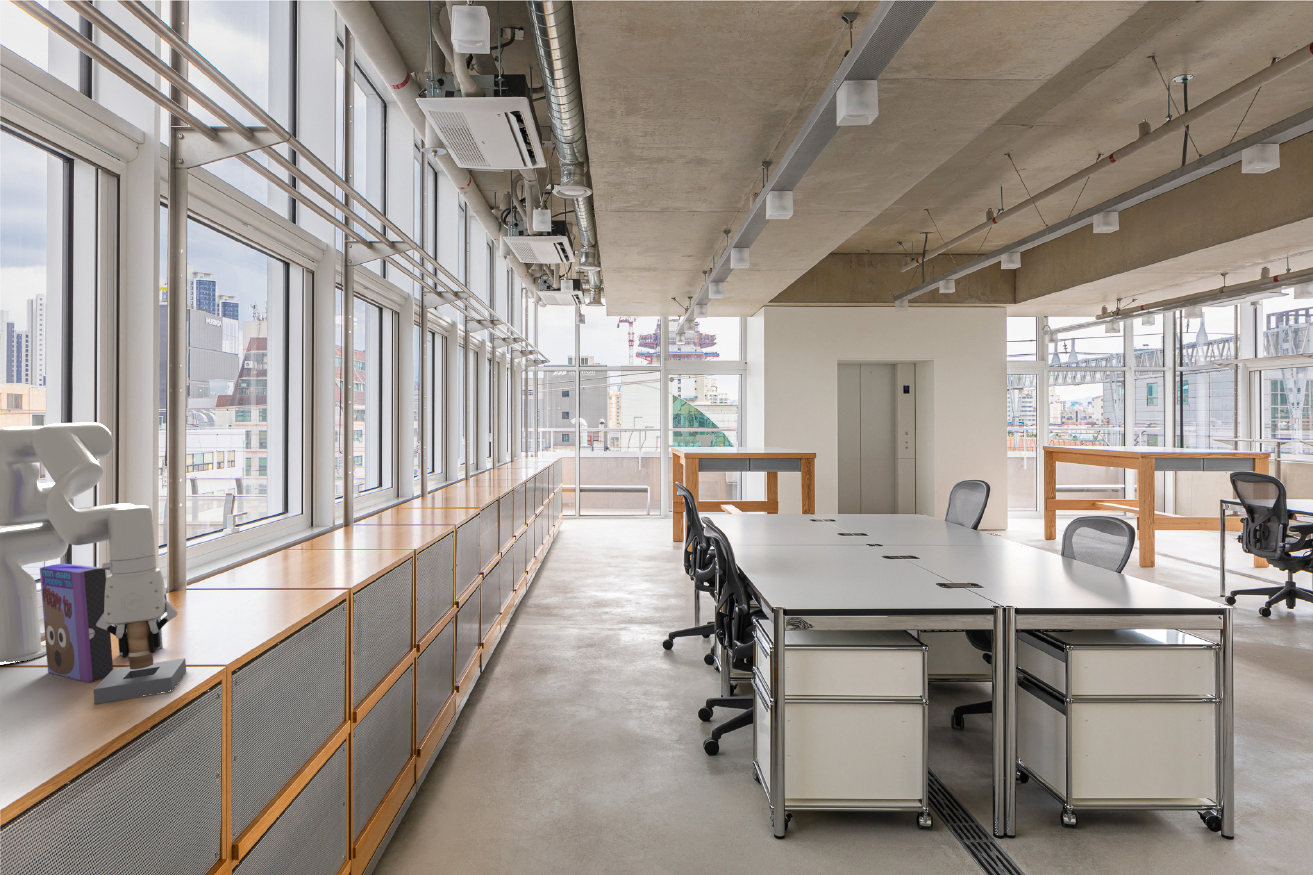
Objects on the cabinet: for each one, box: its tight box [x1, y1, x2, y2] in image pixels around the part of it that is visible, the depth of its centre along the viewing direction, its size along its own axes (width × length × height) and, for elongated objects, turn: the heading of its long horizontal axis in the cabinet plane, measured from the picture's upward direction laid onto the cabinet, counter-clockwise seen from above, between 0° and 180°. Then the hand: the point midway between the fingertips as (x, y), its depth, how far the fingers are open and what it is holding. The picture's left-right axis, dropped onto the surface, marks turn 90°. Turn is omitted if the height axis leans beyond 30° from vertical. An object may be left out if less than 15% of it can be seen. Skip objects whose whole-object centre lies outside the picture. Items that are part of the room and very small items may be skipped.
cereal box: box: [39, 563, 114, 684], centre depth 161 cm, size 17×5×24 cm, turn 62°
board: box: [93, 657, 187, 705], centre depth 151 cm, size 13×13×3 cm
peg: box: [126, 621, 154, 669], centre depth 151 cm, size 4×4×12 cm
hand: (140, 652), depth 151 cm, fingers closed on peg, 4 cm apart
